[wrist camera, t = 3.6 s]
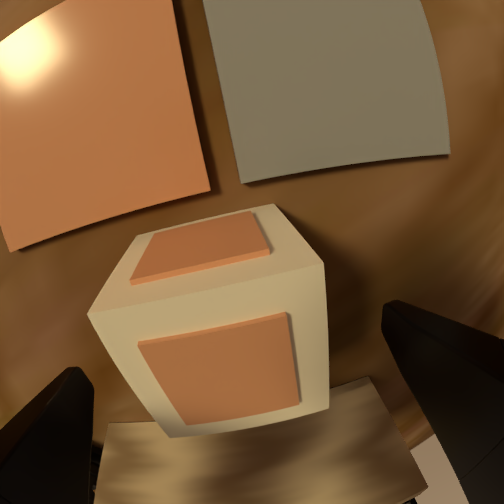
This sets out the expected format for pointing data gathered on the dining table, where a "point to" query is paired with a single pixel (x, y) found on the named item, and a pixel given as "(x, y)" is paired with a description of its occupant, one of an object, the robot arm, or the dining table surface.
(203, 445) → the beech screen
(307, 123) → the slate tile
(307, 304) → the marked cube
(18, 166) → the terracotta tile
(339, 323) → the dining table surface
